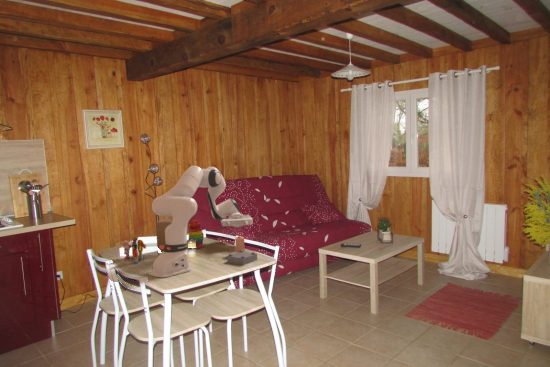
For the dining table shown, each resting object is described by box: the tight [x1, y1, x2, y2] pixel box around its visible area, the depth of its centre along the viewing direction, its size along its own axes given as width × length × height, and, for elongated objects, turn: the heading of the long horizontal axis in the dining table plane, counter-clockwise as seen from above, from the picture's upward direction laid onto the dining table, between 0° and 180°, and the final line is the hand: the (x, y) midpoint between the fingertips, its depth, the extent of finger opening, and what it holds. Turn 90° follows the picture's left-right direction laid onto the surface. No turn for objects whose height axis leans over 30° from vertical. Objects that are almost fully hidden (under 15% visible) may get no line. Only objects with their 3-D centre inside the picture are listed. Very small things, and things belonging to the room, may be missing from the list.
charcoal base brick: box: [226, 250, 258, 266], centre depth 222 cm, size 12×12×5 cm
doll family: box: [121, 236, 147, 265], centre depth 230 cm, size 21×10×13 cm, turn 42°
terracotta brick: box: [234, 235, 246, 253], centre depth 236 cm, size 5×5×11 cm
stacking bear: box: [188, 219, 204, 249], centre depth 256 cm, size 11×10×18 cm
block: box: [155, 218, 173, 252], centre depth 245 cm, size 10×10×20 cm
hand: (237, 224), depth 247 cm, fingers open, 8 cm apart
